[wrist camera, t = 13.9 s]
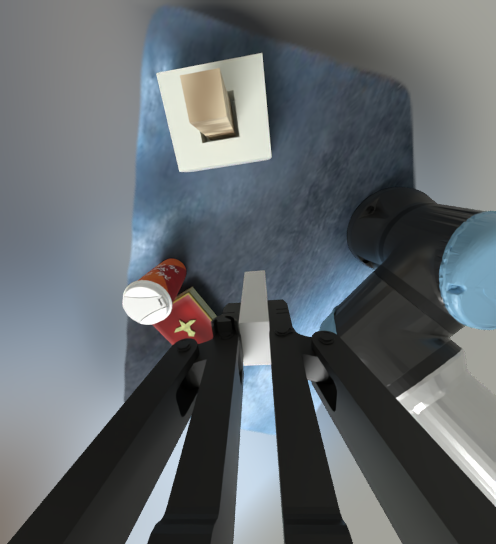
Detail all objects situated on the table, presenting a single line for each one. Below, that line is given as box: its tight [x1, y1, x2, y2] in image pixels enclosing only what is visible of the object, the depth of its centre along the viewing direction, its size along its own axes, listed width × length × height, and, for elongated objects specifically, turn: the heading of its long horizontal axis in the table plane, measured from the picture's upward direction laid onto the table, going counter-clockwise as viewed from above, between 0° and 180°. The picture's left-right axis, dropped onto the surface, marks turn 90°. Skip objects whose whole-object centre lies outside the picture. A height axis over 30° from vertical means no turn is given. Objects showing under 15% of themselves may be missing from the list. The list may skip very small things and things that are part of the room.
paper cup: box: [123, 259, 186, 324], centre depth 41 cm, size 8×8×14 cm
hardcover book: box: [152, 287, 217, 345], centre depth 52 cm, size 12×21×4 cm, turn 33°
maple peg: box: [180, 68, 236, 140], centre depth 30 cm, size 4×4×14 cm
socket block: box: [156, 53, 271, 172], centre depth 35 cm, size 14×12×6 cm
